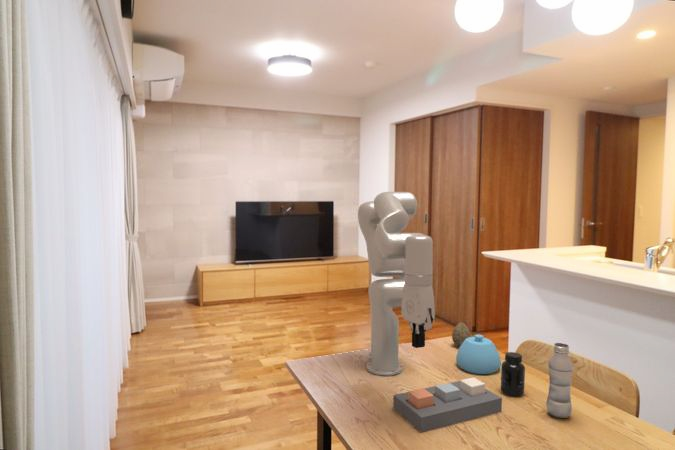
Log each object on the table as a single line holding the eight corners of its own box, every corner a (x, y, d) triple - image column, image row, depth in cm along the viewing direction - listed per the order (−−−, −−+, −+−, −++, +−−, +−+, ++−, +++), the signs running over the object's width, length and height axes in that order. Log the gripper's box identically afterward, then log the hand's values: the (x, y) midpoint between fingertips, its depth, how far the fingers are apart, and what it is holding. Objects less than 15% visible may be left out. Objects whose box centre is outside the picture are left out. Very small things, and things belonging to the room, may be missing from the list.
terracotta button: (407, 406, 127) (408, 391, 126) (422, 403, 129) (423, 388, 128) (418, 414, 122) (418, 398, 122) (433, 411, 124) (433, 395, 124)
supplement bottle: (526, 398, 136) (527, 359, 135) (502, 396, 138) (503, 357, 137) (521, 388, 143) (523, 351, 142) (499, 386, 144) (500, 349, 143)
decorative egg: (460, 342, 186) (461, 318, 185) (474, 347, 180) (474, 323, 179) (448, 345, 182) (448, 321, 181) (461, 351, 176) (462, 326, 175)
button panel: (393, 408, 130) (393, 395, 130) (468, 391, 141) (468, 378, 141) (421, 432, 117) (421, 417, 117) (501, 411, 128) (501, 397, 128)
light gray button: (434, 400, 130) (434, 385, 130) (448, 397, 132) (449, 382, 132) (445, 408, 126) (445, 392, 125) (460, 404, 128) (460, 389, 127)
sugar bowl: (476, 356, 170) (477, 326, 170) (509, 370, 158) (510, 337, 157) (447, 364, 163) (447, 333, 162) (479, 379, 150) (480, 345, 149)
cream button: (459, 394, 134) (460, 380, 133) (473, 391, 136) (473, 377, 135) (471, 402, 129) (471, 387, 129) (485, 398, 131) (485, 384, 131)
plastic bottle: (569, 411, 128) (572, 342, 127) (573, 423, 122) (576, 350, 120) (544, 407, 130) (547, 339, 129) (547, 419, 124) (549, 347, 122)
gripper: (392, 277, 129) (392, 340, 130) (422, 286, 116) (422, 356, 117) (414, 275, 132) (414, 337, 133) (446, 283, 119) (446, 352, 120)
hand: (418, 346), depth 125 cm, fingers closed
